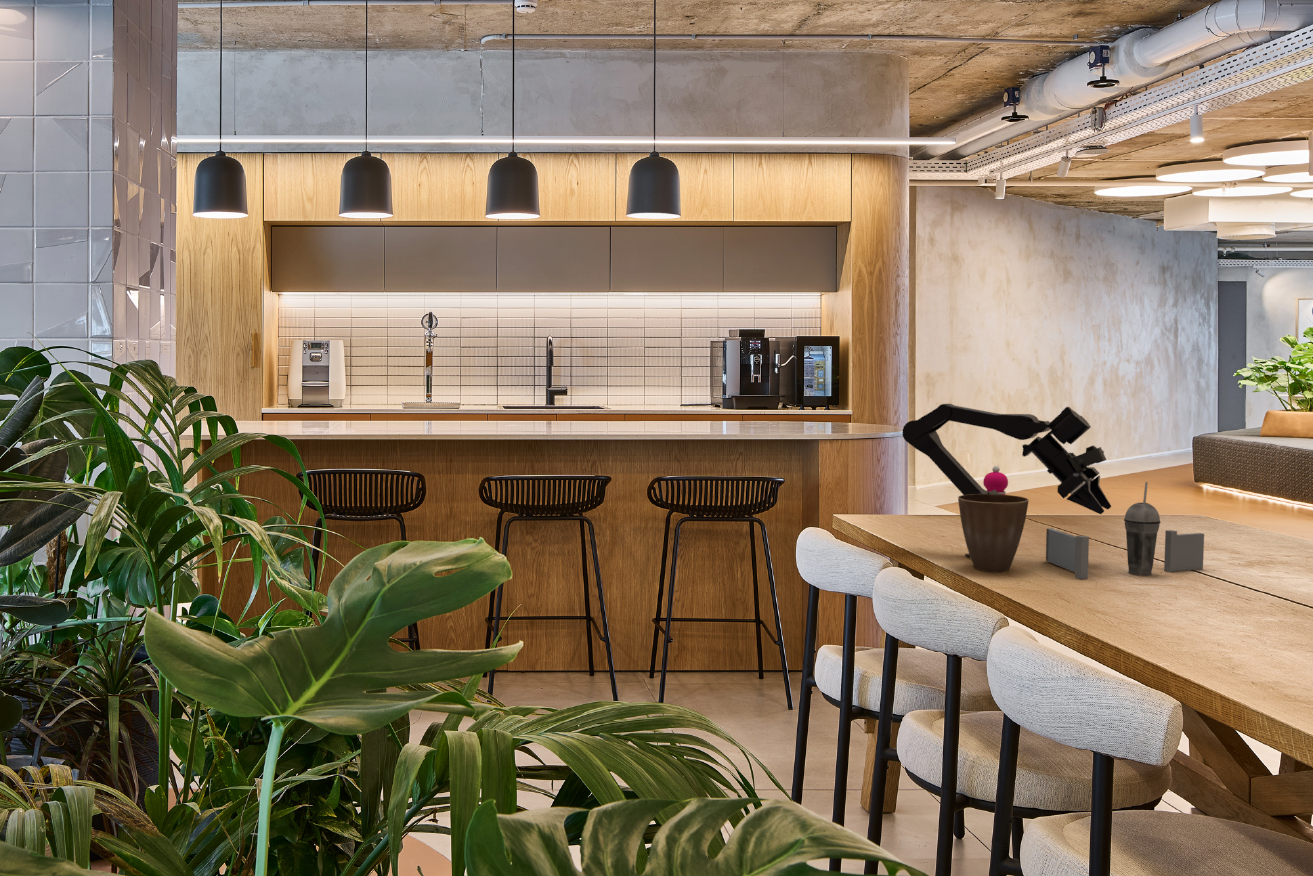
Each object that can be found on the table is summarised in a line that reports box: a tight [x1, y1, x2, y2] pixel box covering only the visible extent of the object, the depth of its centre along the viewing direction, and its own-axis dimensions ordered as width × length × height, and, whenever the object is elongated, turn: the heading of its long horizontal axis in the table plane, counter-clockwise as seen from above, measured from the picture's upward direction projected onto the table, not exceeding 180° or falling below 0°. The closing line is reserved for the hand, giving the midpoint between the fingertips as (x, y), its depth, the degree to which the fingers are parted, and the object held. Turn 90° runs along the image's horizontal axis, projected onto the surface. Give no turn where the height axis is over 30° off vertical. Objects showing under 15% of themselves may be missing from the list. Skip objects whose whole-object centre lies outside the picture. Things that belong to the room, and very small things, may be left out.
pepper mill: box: [982, 465, 1009, 495], centre depth 259 cm, size 7×7×20 cm
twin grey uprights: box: [1074, 529, 1205, 580], centre depth 221 cm, size 34×2×9 cm, turn 109°
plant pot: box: [957, 494, 1029, 573], centre depth 226 cm, size 15×15×16 cm
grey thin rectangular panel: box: [1045, 527, 1077, 573], centre depth 226 cm, size 17×1×8 cm, turn 4°
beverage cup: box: [1123, 481, 1162, 576], centre depth 221 cm, size 7×7×20 cm
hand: (1106, 510), depth 225 cm, fingers open, 9 cm apart
